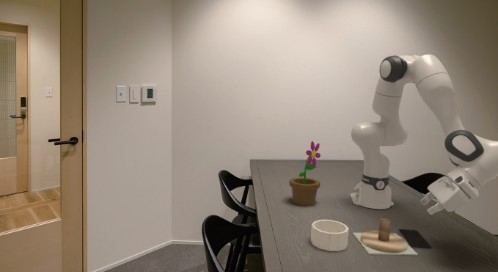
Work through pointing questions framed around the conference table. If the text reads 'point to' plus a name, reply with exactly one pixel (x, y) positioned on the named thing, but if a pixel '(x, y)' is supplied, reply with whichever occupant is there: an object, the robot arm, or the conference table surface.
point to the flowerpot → (306, 181)
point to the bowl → (329, 235)
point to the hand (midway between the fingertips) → (425, 207)
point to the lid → (384, 239)
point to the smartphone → (414, 239)
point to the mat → (375, 252)
